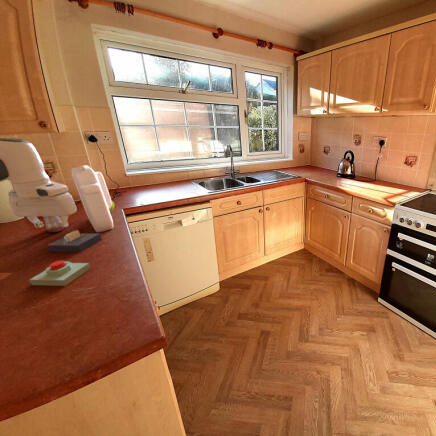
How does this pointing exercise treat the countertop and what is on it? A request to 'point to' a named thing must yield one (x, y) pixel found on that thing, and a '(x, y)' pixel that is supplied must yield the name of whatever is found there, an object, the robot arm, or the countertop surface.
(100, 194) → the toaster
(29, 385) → the countertop surface
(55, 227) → the plastic bottle
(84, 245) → the dial panel
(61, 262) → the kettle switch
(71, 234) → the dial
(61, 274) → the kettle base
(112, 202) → the fruit
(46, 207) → the robot arm
